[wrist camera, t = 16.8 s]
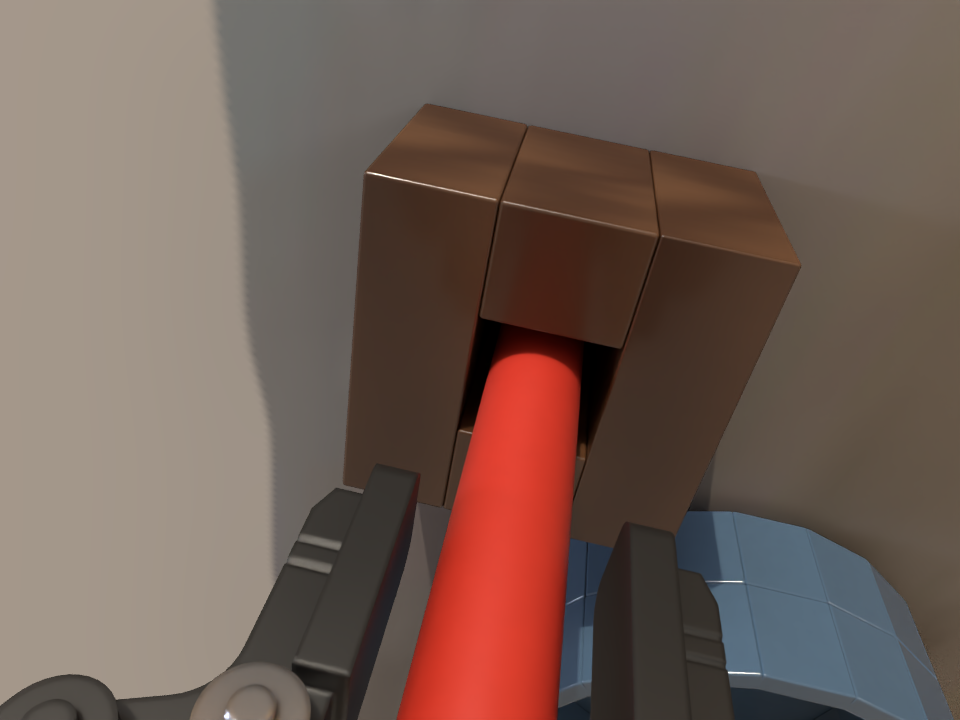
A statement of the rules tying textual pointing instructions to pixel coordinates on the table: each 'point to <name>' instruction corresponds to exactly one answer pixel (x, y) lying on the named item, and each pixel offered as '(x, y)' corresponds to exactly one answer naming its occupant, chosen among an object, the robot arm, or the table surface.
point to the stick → (505, 545)
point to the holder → (559, 304)
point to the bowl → (778, 625)
